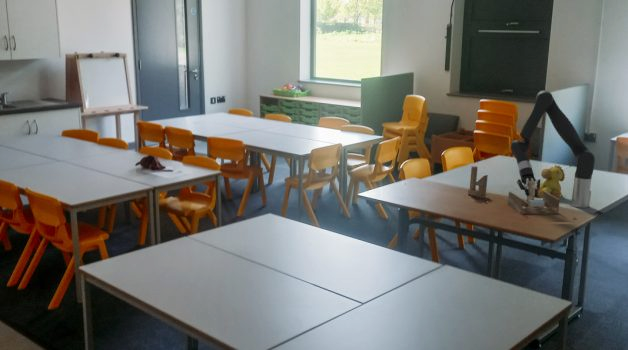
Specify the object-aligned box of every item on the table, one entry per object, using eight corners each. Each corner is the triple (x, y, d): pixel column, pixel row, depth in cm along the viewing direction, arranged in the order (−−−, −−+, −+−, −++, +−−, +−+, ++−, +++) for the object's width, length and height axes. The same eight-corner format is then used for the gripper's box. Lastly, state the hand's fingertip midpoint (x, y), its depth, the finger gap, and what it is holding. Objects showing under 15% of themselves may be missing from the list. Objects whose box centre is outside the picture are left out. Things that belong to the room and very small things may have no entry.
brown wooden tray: (543, 206, 385) (545, 191, 383) (557, 215, 368) (559, 199, 366) (507, 206, 383) (509, 191, 381) (520, 215, 366) (521, 199, 363)
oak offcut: (541, 210, 373) (541, 205, 372) (543, 211, 370) (544, 206, 370) (527, 210, 372) (528, 205, 372) (529, 211, 369) (530, 206, 369)
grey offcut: (541, 205, 372) (542, 199, 372) (544, 206, 370) (544, 201, 369) (528, 205, 372) (528, 199, 371) (530, 206, 369) (530, 201, 368)
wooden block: (482, 198, 400) (484, 169, 396) (467, 194, 408) (470, 166, 404) (485, 197, 402) (488, 168, 398) (471, 193, 410) (473, 165, 406)
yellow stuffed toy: (524, 192, 418) (527, 163, 414) (556, 191, 424) (559, 162, 420) (543, 201, 399) (546, 170, 394) (576, 199, 405) (580, 169, 401)
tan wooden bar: (530, 206, 381) (532, 180, 378) (533, 208, 377) (535, 182, 374) (525, 206, 381) (528, 180, 377) (528, 208, 377) (531, 182, 374)
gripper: (516, 166, 381) (522, 192, 372) (539, 166, 382) (546, 192, 373) (511, 173, 387) (517, 198, 378) (534, 173, 388) (541, 199, 379)
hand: (532, 195), depth 376 cm, fingers open, 4 cm apart
